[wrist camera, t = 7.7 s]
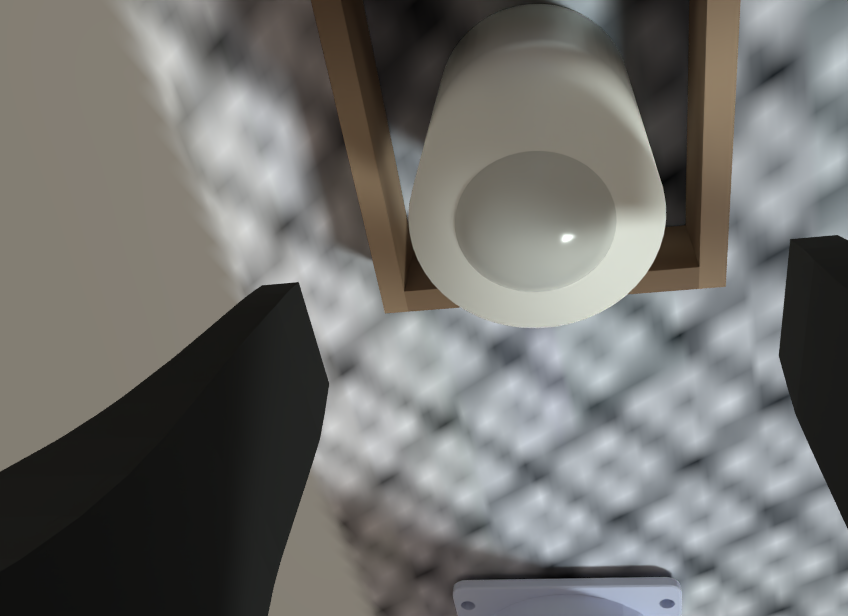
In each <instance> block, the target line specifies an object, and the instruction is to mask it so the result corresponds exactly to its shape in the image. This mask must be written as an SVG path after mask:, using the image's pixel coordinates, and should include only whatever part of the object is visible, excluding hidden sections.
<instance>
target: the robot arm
mask: <svg viewBox="0 0 848 616" xmlns="http://www.w3.org/2000/svg"><path fill="white" fill-rule="evenodd" d="M779 358H780V362H781V365H782V369H783V373H784V376H785V380H786V384H787V387H788V391H789V394H790V397H791V401H792V404H793V407H794V410H795V414H796V416H797V419H798V421H799V423H800V425H801V428H802V430H803V432H804V434H805V437H806V439H807V441H808V443H809V446H810V448H811V450H812V452H813V454H814V457H815V459H816V461H817V463H818V465H819V468H820V470H821V472H822V474H823V476H824V478H825V481H826V483H827V485H828V487H829V489H830V491H831V494H832V496H833V498H834V500H835V502H836V505H837V507H838V509H839V511H840V513H841V515H842V518H843V520H844V522H845V524H846V526H847V528H848V240H846V239H844V238H842V237H840V236H838V235H834V236H822V237H811V238H799V239H790V248H789V258H788V268H787V278H786V289H785V299H784V309H783V319H782V329H781V339H780V349H779ZM328 388H329V382H328V378H327V375H326V372H325V368H324V365H323V362H322V358H321V355H320V352H319V348H318V345H317V342H316V338H315V335H314V332H313V328H312V325H311V322H310V318H309V315H308V312H307V308H306V305H305V302H304V298H303V295H302V292H301V288H300V285H299V282H296V283H285V284H273V285H262V286H261V287H259V288H258V289H256V290H255V291H253V292H252V293H251V294H249V295H248V296H247V297H245V298H244V299H243V300H242V301H240V302H239V303H238V304H237V305H236V306H234V307H233V308H232V309H231V310H230V311H228V312H227V313H226V314H225V315H224V316H222V317H221V318H220V319H219V320H218V321H217V322H215V323H214V324H213V325H212V326H211V327H210V328H208V329H207V330H206V331H205V332H204V333H203V334H201V335H200V336H199V337H198V338H196V339H195V340H194V341H193V342H192V343H191V344H189V345H188V346H187V347H186V348H185V349H183V350H182V351H181V352H180V353H179V354H177V355H176V356H175V357H174V358H172V359H171V360H170V361H169V362H167V363H166V364H165V365H163V366H162V367H161V368H160V369H158V370H157V371H156V372H154V373H153V374H152V375H151V376H149V377H148V378H147V379H145V380H144V381H143V382H141V383H140V384H139V385H138V386H136V387H135V388H134V389H132V390H131V391H130V392H129V393H127V394H126V395H125V396H124V397H122V398H120V399H119V400H118V401H116V402H115V403H113V404H112V405H110V406H109V407H108V408H106V409H105V410H103V411H102V412H100V413H99V414H97V415H96V416H94V417H93V418H91V419H90V420H88V421H86V422H85V423H83V424H82V425H80V426H79V427H77V428H76V429H74V430H73V431H71V432H69V433H68V434H66V435H65V436H63V437H61V438H60V439H58V440H56V441H55V442H53V443H51V444H49V445H47V446H46V447H44V448H42V449H41V450H38V451H37V452H35V453H33V454H31V455H30V456H28V457H26V458H24V459H22V460H21V461H19V462H17V463H15V464H13V465H11V466H10V467H8V468H6V469H4V470H3V471H1V472H0V616H268V611H269V607H270V602H271V597H272V592H273V587H274V584H275V580H276V576H277V572H278V569H279V565H280V562H281V558H282V555H283V552H284V549H285V546H286V543H287V540H288V536H289V533H290V531H291V528H292V524H293V521H294V518H295V515H296V512H297V509H298V506H299V503H300V500H301V497H302V494H303V491H304V488H305V485H306V482H307V479H308V475H309V472H310V469H311V466H312V463H313V460H314V457H315V453H316V450H317V447H318V443H319V440H320V436H321V431H322V425H323V420H324V414H325V408H326V401H327V395H328ZM453 599H454V604H455V608H456V612H457V616H681V611H682V592H681V586H680V583H679V582H678V581H677V580H676V579H673V578H671V577H627V578H562V579H497V580H462V581H459V582H457V583H455V585H454V587H453Z"/></svg>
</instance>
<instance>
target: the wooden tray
mask: <svg viewBox="0 0 848 616" xmlns="http://www.w3.org/2000/svg"><path fill="white" fill-rule="evenodd" d="M311 3H312V7H313V11H314V15H315V20H316V24H317V28H318V32H319V37H320V41H321V45H322V49H323V53H324V58H325V62H326V66H327V70H328V74H329V79H330V83H331V87H332V91H333V96H334V100H335V104H336V108H337V112H338V117H339V121H340V125H341V129H342V133H343V138H344V142H345V146H346V150H347V154H348V159H349V163H350V167H351V171H352V176H353V180H354V184H355V188H356V192H357V197H358V201H359V205H360V209H361V213H362V218H363V222H364V226H365V230H366V235H367V239H368V243H369V247H370V251H371V256H372V260H373V264H374V268H375V272H376V277H377V281H378V285H379V289H380V293H381V298H382V302H383V306H384V310H385V313H395V312H408V311H421V310H434V309H446V308H459V306H458V305H456V304H455V303H453V302H452V301H451V300H450V299H448V298H447V297H446V296H445V295H444V294H442V293H441V291H440V290H439V289H438V288H437V287H436V286H435V285H434V284H433V283H432V282H431V280H430V279H429V278H428V276H427V275H426V274H425V272H424V270H423V269H422V267H421V265H420V263H419V261H418V259H417V257H416V254H415V251H414V250H413V246H412V242H411V237H410V233H409V226H408V221H407V216H406V211H405V206H404V201H403V196H402V191H401V186H400V181H399V176H398V171H397V166H396V161H395V156H394V151H393V147H392V142H391V137H390V132H389V127H388V122H387V117H386V112H385V107H384V102H383V97H382V92H381V87H380V82H379V77H378V72H377V67H376V63H375V58H374V53H373V48H372V43H371V38H370V33H369V28H368V23H367V18H366V13H365V8H364V3H363V0H311ZM739 18H740V0H689V50H688V108H687V166H686V224H685V225H682V226H671V227H665V230H664V235H663V239H662V242H661V246H660V249H659V251H658V253H657V255H656V258H655V260H654V262H653V263H652V265H651V267H650V268H649V270H648V271H647V273H646V275H645V276H644V277H643V278H642V279H641V281H640V282H639V283H638V284H637V285H636V286H635V287H634V288H633V289H632V290H631V291H630V292H629V293H628V294H638V293H651V292H664V291H676V290H689V289H702V288H715V287H726V270H727V251H728V231H729V212H730V193H731V173H732V154H733V135H734V115H735V96H736V76H737V57H738V38H739Z"/></svg>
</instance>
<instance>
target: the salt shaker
mask: <svg viewBox="0 0 848 616" xmlns="http://www.w3.org/2000/svg"><path fill="white" fill-rule="evenodd" d="M408 220H409V233H410V237H411V242H412V246H413V249H414V251H415V254H416V257H417V259H418V261H419V263H420V265H421V267H422V269H423V270H424V272H425V274H426V275H427V276H428V278H429V279H430V280H431V282H432V283H433V284H434V285H435V286H436V287H437V288H438V289H439V290H440V291H441V293H442V294H444V295H445V296H446V297H447V298H448V299H450V300H451V301H452V302H453V303H455V304H456V305H458V306H459V307H461V308H463V309H464V310H466V311H468V312H470V313H472V314H474V315H476V316H478V317H480V318H483V319H486V320H489V321H492V322H494V323H499V324H503V325H507V326H514V327H522V328H546V327H556V326H561V325H566V324H571V323H574V322H577V321H581V320H584V319H587V318H589V317H591V316H594V315H596V314H598V313H600V312H602V311H604V310H605V309H607V308H609V307H611V306H612V305H614V304H615V303H617V302H618V301H619V300H621V299H622V298H623V297H625V296H626V295H627V294H628V293H629V292H630V291H631V290H632V289H633V288H634V287H635V286H636V285H637V284H638V283H639V282H640V281H641V279H642V278H643V277H644V276H645V275H646V273H647V271H648V270H649V268H650V267H651V265H652V263H653V262H654V260H655V258H656V255H657V253H658V251H659V249H660V246H661V242H662V239H663V235H664V230H665V223H666V202H665V196H664V190H663V186H662V183H661V180H660V176H659V173H658V170H657V167H656V164H655V160H654V157H653V154H652V151H651V148H650V144H649V141H648V138H647V135H646V131H645V128H644V125H643V122H642V119H641V115H640V112H639V109H638V106H637V103H636V99H635V96H634V93H633V90H632V86H631V83H630V80H629V77H628V74H627V70H626V67H625V64H624V61H623V59H622V56H621V54H620V52H619V50H618V48H617V47H616V45H615V44H614V42H613V41H612V40H611V38H610V37H609V36H608V35H607V34H606V32H605V31H604V30H603V29H602V28H601V27H600V26H598V25H597V24H596V23H594V22H593V21H592V20H591V19H589V18H587V17H585V16H584V15H582V14H580V13H578V12H575V11H573V10H571V9H568V8H564V7H560V6H556V5H549V4H526V5H520V6H514V7H511V8H508V9H505V10H502V11H499V12H497V13H495V14H493V15H491V16H489V17H487V18H486V19H484V20H483V21H481V22H479V23H478V24H477V25H476V26H474V27H473V28H472V29H471V30H470V31H469V32H468V33H467V34H466V35H465V36H464V37H463V38H462V39H461V40H460V42H459V43H458V44H457V46H456V47H455V49H454V50H453V52H452V53H451V55H450V57H449V59H448V61H447V63H446V66H445V69H444V72H443V75H442V79H441V82H440V86H439V90H438V94H437V98H436V101H435V105H434V109H433V113H432V117H431V121H430V124H429V128H428V132H427V136H426V140H425V144H424V147H423V151H422V155H421V159H420V163H419V166H418V170H417V174H416V178H415V182H414V186H413V189H412V194H411V198H410V203H409V216H408Z"/></svg>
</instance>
